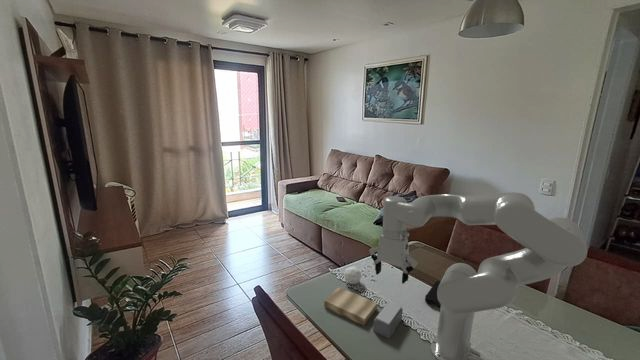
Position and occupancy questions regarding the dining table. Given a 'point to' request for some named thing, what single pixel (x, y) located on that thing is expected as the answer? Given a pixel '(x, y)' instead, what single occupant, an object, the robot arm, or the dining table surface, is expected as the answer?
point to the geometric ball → (352, 275)
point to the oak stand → (351, 305)
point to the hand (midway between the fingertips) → (391, 277)
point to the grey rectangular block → (388, 319)
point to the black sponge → (433, 295)
